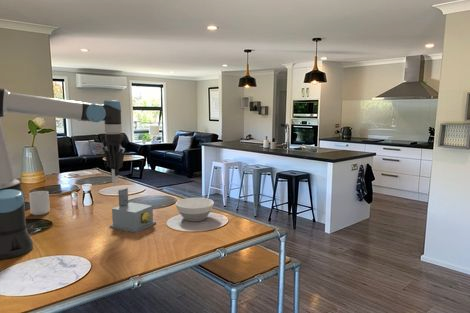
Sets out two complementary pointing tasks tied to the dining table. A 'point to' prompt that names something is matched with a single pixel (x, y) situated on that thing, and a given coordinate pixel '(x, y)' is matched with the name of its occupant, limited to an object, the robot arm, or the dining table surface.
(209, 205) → the bowl
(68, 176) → the dining table surface
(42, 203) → the mug
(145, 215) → the pin
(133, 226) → the block
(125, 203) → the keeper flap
